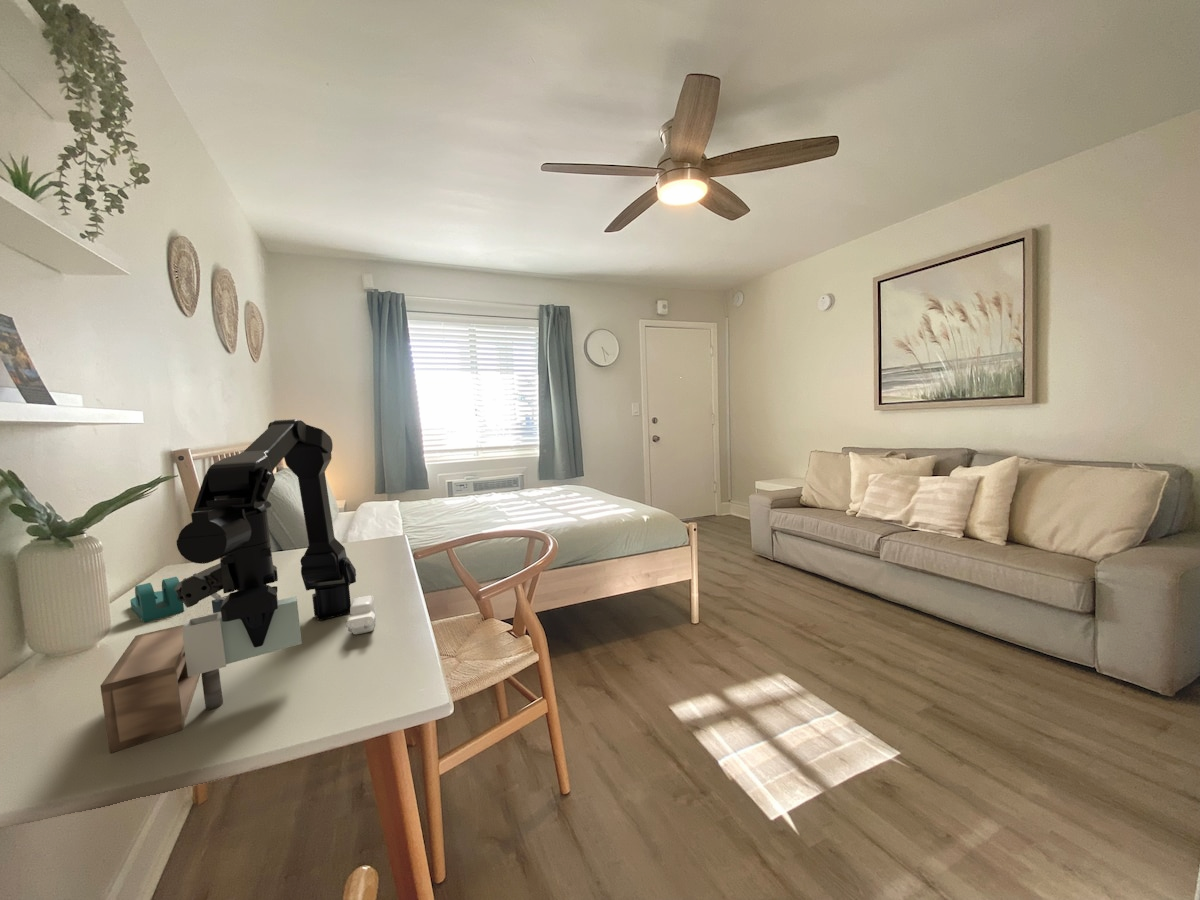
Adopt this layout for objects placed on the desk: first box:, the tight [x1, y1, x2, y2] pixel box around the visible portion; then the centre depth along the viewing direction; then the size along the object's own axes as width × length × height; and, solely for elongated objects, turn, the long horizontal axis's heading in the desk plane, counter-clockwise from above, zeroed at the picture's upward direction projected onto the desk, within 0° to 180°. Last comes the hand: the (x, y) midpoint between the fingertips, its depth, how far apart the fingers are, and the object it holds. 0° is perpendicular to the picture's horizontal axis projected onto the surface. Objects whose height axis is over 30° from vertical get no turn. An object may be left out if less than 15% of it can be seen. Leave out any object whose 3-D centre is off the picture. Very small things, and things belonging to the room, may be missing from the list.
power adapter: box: [345, 595, 376, 635], centre depth 90 cm, size 11×5×6 cm, turn 21°
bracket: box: [129, 576, 185, 624], centre depth 110 cm, size 18×7×8 cm, turn 53°
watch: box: [209, 590, 237, 614], centre depth 106 cm, size 6×8×11 cm
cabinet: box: [100, 624, 224, 754], centre depth 70 cm, size 11×18×9 cm, turn 35°
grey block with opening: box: [182, 596, 303, 677], centre depth 71 cm, size 14×4×7 cm, turn 125°
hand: (258, 642), depth 72 cm, fingers closed on grey block with opening, 2 cm apart
